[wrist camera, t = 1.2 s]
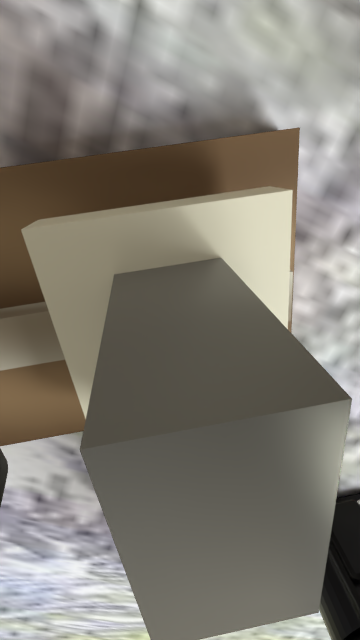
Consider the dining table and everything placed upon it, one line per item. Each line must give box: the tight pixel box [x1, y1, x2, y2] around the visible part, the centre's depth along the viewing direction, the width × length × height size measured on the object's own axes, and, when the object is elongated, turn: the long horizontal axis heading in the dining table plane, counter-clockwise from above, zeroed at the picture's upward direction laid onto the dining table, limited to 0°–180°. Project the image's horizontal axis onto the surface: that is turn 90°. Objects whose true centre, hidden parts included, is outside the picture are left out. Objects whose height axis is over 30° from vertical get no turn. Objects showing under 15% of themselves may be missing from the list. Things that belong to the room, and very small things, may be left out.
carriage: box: [21, 186, 352, 640], centre depth 8 cm, size 8×7×8 cm
